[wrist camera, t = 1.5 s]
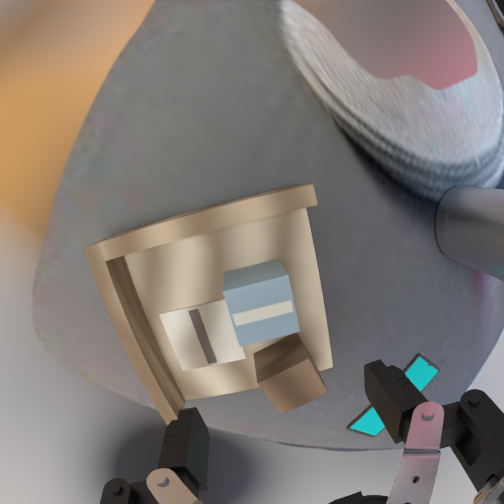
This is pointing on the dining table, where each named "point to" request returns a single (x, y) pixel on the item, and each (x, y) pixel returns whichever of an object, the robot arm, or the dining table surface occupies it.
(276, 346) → the walnut block
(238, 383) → the tray
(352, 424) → the flat teal bar
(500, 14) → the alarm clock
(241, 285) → the block
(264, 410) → the dining table surface
